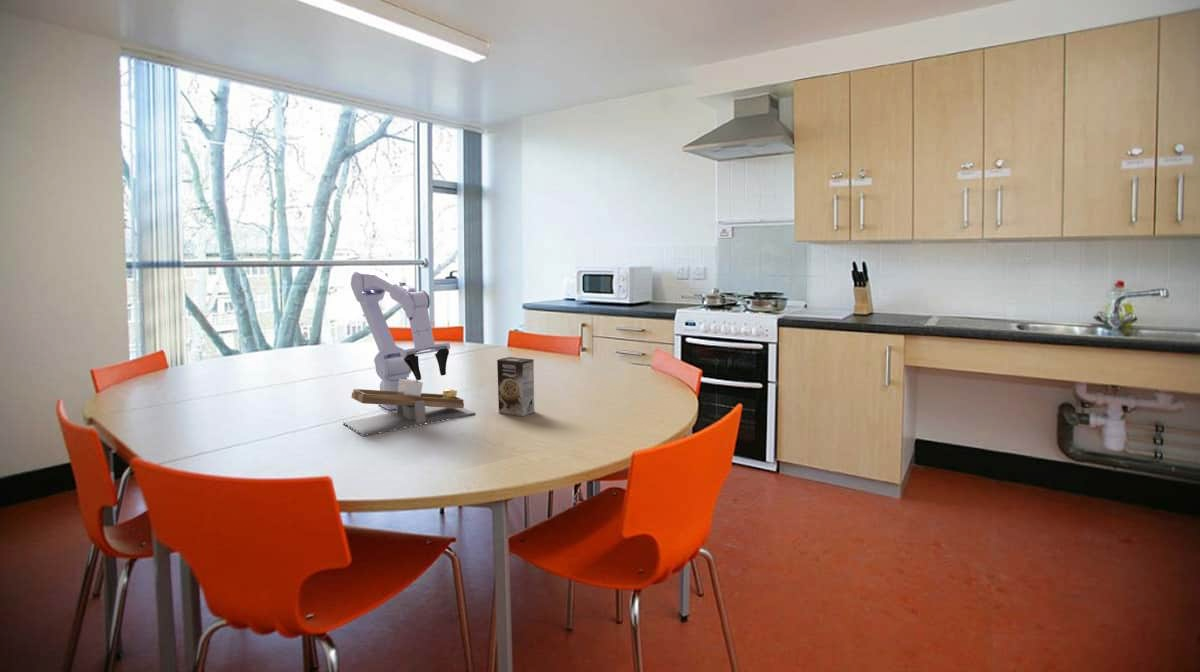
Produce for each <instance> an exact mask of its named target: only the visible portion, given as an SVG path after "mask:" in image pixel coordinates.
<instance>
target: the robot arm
mask: <svg viewBox="0 0 1200 672" xmlns="http://www.w3.org/2000/svg"><path fill="white" fill-rule="evenodd" d="M350 280H351V281H350V287H351V290H352V292H353V295H354V297H355V300H356V301H357V302H358V303H359V304H360V307H361V309H362V312H363V314H364V317H365V320H366V322H367V325H368V327H369V329H370V332H371V334H372V337H373V340H374V342H375V345H376V347H377V348H378V352H377V354H376V355H375V357H374V359H373V362H374V364H375V373H376V375H377V376H378V377H379V379H380V380H381V381H380V383H379V390H380V391H396V392H397V390H398V383H399V379H408V378H409V377H410V375H411V373H412V374H413V376H414V378H415V380H416V381H421V380H422V374H421V370H420V364H419V355H424V354H428V353H433V352H434V356H435V358H436V361H437V364H438V370H439V373H440V376H446V375H447V372H446V371H447V362H448V358H449V354H450V349H451V345H450V342H444V343H435V338H434V334H433V333H434V332H433V329H432V324H431V320H430V319H431V318H430V315H429V308H430V306H431V298H430V295H429V294H428V293H427V292H426V290H420V291H417V290H416V289H415V288H414V287H411V286H409V285H407V282H405V281H399V282H396V281H394V280H393V279H392V278H391V277H389V276H388V272H385V271H383V270H378V271H354V272H353V273H352V275H351V279H350ZM385 293H389V296H390V298H391V299H392V300H393V301H395V302H397V303H399V304H400V305H401V307H402V310H403V311H404V312H405V316H406V318H407V319H408V321H409V322H408V323H409V325H410V330H411V335H412V340H413V346H414V348H413V347H412V348H407V349H404V348H401V347H399V346H398V345H396V343H395V340H394V337H393V336H392V333H391V331H390V328H389V325H388V323H387V321H386V319H385V316H384V313H383V311H382V309H381V307H380V304H379V303H380V302H381V301H382V300H383V299H384V296H385ZM435 352H436V353H435ZM377 405H378V406H380V407H382V408H384V409H386V410H388V411H391V410H396V405H384V404H377Z"/></svg>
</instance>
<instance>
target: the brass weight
mask: <svg viewBox="0 0 1200 672" xmlns="http://www.w3.org/2000/svg"><path fill="white" fill-rule="evenodd" d="M442 394H443V397H442V398H445V399H456V397H457V394H458V390H455V389H451V388H450V389H449V388H444V389H443V390H442Z"/></svg>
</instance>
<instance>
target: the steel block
mask: <svg viewBox="0 0 1200 672" xmlns="http://www.w3.org/2000/svg"><path fill="white" fill-rule="evenodd" d="M422 389H423V382H422V381H421V380H417V381H416V379H408V378H407V379H399V383H398V390H397V396H411V397H421V393H422V391H423V390H422Z"/></svg>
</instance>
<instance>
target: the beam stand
mask: <svg viewBox="0 0 1200 672" xmlns="http://www.w3.org/2000/svg"><path fill="white" fill-rule="evenodd" d="M475 415H476V412H475V411H472V410H470V409H467V408H465V407H464V408H447V407H426V406H425V401H423V400H422V401H416V402H415V406H405V405H396V409H395V412H391V413H387V414H381V415H374V416H369V417H364V418H358V419H352V420H345V421H342V424H343V423H344V424H346V425H347V426H349V427H350V428H352V429H354V430H355V431H357V432H358V433H360V434H362V435H367V434H373V435H375V434H374V433H378V434H380V433H379V432H383V433H386V432H385V431H388V432H391V431H390V430H394V429H399V430H401V429H400V428H404V427H409V428H411V427H410V426H414V427H416V426H415V425H419V426H421V425H420V424H424V425H426V424H425V423H430V424H432V423H431V422H435V423H438V422H437V421H440V422H443V421H442V420H445V421H448V420H447V419H450V420H454V418H455V419H459V417H460V418H465V416H466V417H469V416H475ZM344 424H343V425H344ZM347 426H346V427H347ZM350 428H349V429H350ZM352 429H351V430H352ZM404 429H405V428H404ZM355 431H354V432H355ZM394 431H395V430H394ZM358 433H357V434H358ZM360 434H359V435H360Z"/></svg>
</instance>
